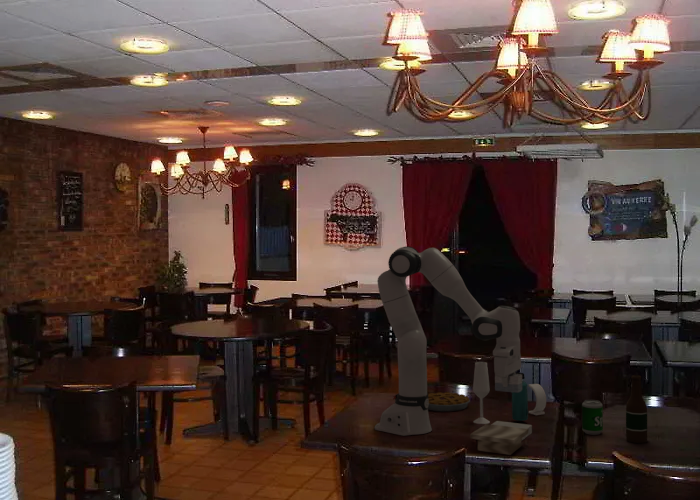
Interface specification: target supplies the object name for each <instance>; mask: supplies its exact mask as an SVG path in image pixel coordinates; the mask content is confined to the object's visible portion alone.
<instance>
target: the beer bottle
mask: <svg viewBox="0 0 700 500" xmlns="http://www.w3.org/2000/svg"><path fill="white" fill-rule="evenodd" d="M630 378H631V393H630V397H629V398H628V400H627V402H626V405H625V438H626V441H627V442H629V443H633V444H645V443H647V442H648V406H647V404H646V402H645V400H644V398H643V395H642V394H643V393H642V392H643V391H642V381H641V380H642V376H641V375H638V374H633V375H631V377H630Z"/></svg>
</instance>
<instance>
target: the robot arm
mask: <svg viewBox="0 0 700 500" xmlns="http://www.w3.org/2000/svg"><path fill="white" fill-rule="evenodd" d="M387 262H388V263H387V266H388V270H385V271H384V272H382V273H381V274H380V275H379V276H378V277H377V288H378V292H379V296H380V299H381V300H380V301H381V303H382V305H383V308H384V310H385V313H386V317H387V320H388V323H389V324H390V326H391V329H392V331H393V333H394V335H395V338H396V341H397V366H398V367H397V368H398V393H396V394H395V395H394V396H393V397H392V400H394V402H393V403H392V404H391V405H390V406H389V407H388V408H386V409H385V410H384V411H382V413H381V416H380V420H379V421H380V422H378V423H376V424H375V426H374V430H375V431H380V432H385V433H388V434H394V435H397V436H402V437H403V436H411V435H412V436H413V435H423V434H427V433H430V432H431V431H433V429H432V425H431V422H430V416H429V409H428V405H429V400H428V394H429V393H428V367H427V363H428V362H427V348H428V347H427V344H428V343H427V342H428V340H427V336H426V334H425V332H424V330H423V327H422V323H421V322H420V320H419V316H418V314H417V312H416V310H415V306H414V303H413V301H412V298H411V295H410V293H409V290H408V288H407V282H406V281H407V280H406V279H407V277H409V276H412V275H415V274H417V273H421V274H423V276H425V278H426V279H427V280H428V281H429V282H430V284H431V285H432V286H433V288H435V290H437V292H439V294H441V295H442V296H444V297H447V298H449V299H451V300H452V301H455V302H456V304H458V306H459V307H460V308H461V310H463V311H464V313H465V314H466V315H467V316H468V318H469V319H470V322H471V332H472V334H473V335H474V337H475V338H477V339H479V340H481V341H489V340H494V339H495V341H496V344H495V347H494V349H493V350H492V356H493V357H494V358H493V368H494V369H493V370H494V371H493V372H494V376H495V375H496V377H501V378H502V382H503V387H507V386H508V385H509V382H508V379H507V378H508V375H509V374H515V373H516V372H518V371H519V370H521V367H522V354H521V338H520V331H521V318H520V312H519V311H518V309H516V308H515V307H512V306H509V305H498V307H496V308H494V309H493V310H491V311H489V310H486V309H485V308H484V307H482V306H481V304H480V303H479V302H478V301H477V299H475V297H474V296H473V295H472V294H471V292H470V291H469V290H468V288H467V286H466V284H465V282H464V280H463V278H462V276H461V275H460V273H459V271H458V270H457V268H456V267H455V265H454V264H453V263H452V262H451V261H450V260H449V258H448V257H447V256H445V255H444V253H442V252H441V251H440V250H439V249H438V248H437V247H428V248H427V249H424V250H423V251H421V252H419V250H417V249H416V248H415V247H412V246H408V245H407V246H402V247H399V248H397V249H396V250H395V251H393V252H392V253H391V254H390V256H389V258H388V261H387Z"/></svg>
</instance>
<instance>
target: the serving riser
mask: <svg viewBox="0 0 700 500" xmlns="http://www.w3.org/2000/svg"><path fill="white" fill-rule="evenodd" d="M527 434H528V429H524V428H516V427H508V426H499V425H491V424H490V423H487V424H483V425H482V426H481V427H479V428H478V429H476V430H474V431H473V432H471V433H470V434H469V439H473V440H477V451H480V452H486V453H494V454H502V455H508V456H511V455H512V454H513V453H515V452H516V451H517V450H519V449H520V448H521V447H522V441H521V438H523V437H524V436H525V435H527Z"/></svg>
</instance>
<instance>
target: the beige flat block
mask: <svg viewBox="0 0 700 500" xmlns="http://www.w3.org/2000/svg"><path fill="white" fill-rule="evenodd" d="M491 425H499V426H508V427H516V428H524V429H528V434H527V435H525V436H524V437H523V438H521V442H522V441H524V440H525V439H526V438H527V437H529V436H530V435H531V434H532V433H533V425H532V424H526V423H517V422H510V421H503V420H502V421H501V420H496V421H494V422H493V423H492V424H491Z"/></svg>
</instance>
